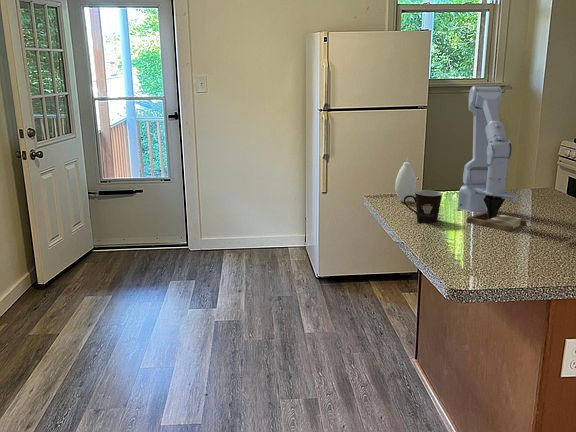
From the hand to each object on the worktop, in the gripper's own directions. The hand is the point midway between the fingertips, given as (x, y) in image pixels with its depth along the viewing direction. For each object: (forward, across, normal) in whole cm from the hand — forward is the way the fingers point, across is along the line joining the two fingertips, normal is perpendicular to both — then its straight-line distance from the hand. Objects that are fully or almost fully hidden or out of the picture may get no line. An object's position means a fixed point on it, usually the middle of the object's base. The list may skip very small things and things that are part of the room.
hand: (492, 218), depth 178 cm
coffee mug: (+2, -18, -13) cm, 22 cm away
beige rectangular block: (+1, +4, 0) cm, 5 cm away
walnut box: (+2, +2, 0) cm, 2 cm away
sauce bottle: (+2, -39, +6) cm, 40 cm away
